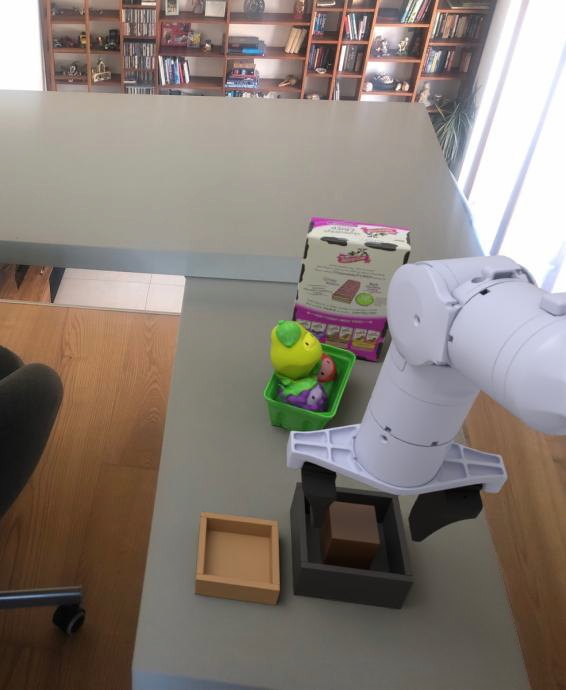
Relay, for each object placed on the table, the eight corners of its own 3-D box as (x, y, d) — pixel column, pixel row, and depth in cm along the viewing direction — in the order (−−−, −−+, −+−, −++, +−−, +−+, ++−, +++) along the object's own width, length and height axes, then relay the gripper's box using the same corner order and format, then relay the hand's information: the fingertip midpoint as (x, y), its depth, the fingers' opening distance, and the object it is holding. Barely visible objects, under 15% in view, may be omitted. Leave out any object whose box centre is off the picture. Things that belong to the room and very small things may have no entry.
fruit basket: (324, 451, 74) (346, 375, 67) (245, 424, 78) (257, 348, 70) (348, 385, 82) (370, 309, 75) (275, 363, 85) (289, 289, 78)
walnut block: (367, 575, 63) (380, 543, 59) (321, 569, 63) (332, 538, 60) (362, 537, 66) (374, 505, 62) (318, 532, 66) (328, 500, 63)
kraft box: (275, 605, 61) (279, 590, 60) (194, 594, 62) (196, 579, 61) (274, 536, 67) (278, 520, 65) (199, 526, 68) (201, 511, 66)
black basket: (400, 609, 61) (414, 582, 58) (293, 594, 62) (301, 567, 59) (386, 521, 68) (397, 493, 65) (289, 510, 69) (297, 481, 66)
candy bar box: (378, 338, 88) (412, 226, 78) (377, 363, 85) (414, 250, 74) (289, 323, 91) (310, 213, 80) (285, 347, 87) (307, 235, 77)
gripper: (515, 380, 48) (450, 493, 57) (300, 358, 50) (271, 471, 59) (544, 463, 43) (467, 572, 52) (303, 435, 45) (272, 545, 54)
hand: (364, 523), depth 55 cm, fingers open, 7 cm apart
